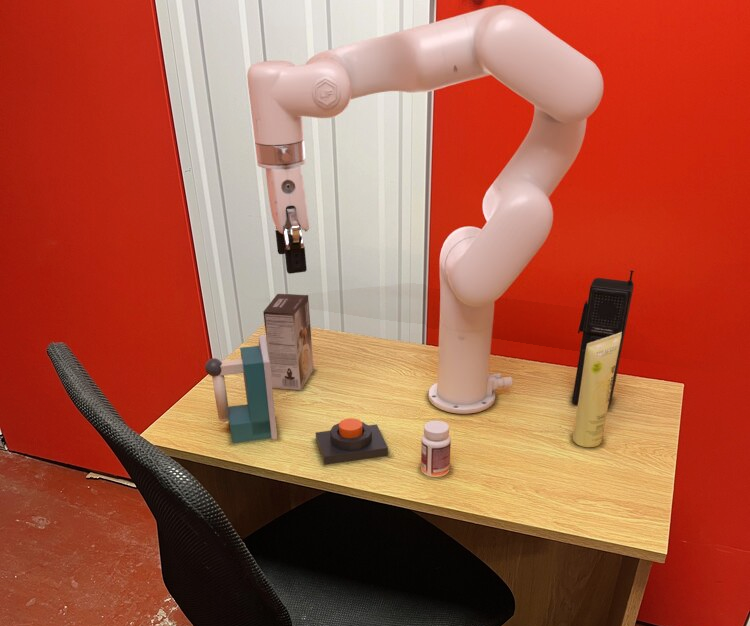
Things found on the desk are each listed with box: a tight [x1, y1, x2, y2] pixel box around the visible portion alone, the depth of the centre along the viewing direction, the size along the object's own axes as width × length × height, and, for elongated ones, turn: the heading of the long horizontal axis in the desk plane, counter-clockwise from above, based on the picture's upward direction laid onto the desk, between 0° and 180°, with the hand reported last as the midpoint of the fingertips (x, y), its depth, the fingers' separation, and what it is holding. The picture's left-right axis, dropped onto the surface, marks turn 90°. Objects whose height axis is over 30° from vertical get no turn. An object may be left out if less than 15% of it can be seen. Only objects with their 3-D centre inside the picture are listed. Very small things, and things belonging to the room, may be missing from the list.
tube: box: [572, 332, 622, 448], centre depth 129 cm, size 6×5×20 cm
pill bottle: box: [420, 419, 452, 478], centre depth 126 cm, size 5×5×8 cm
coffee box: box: [262, 293, 314, 391], centre depth 150 cm, size 9×6×16 cm
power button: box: [338, 417, 363, 438], centre depth 132 cm, size 4×4×2 cm
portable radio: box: [571, 269, 635, 410], centre depth 139 cm, size 8×6×25 cm
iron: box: [204, 334, 278, 444], centre depth 133 cm, size 18×8×10 cm
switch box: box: [315, 421, 389, 466], centre depth 133 cm, size 11×8×4 cm
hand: (291, 262), depth 130 cm, fingers open, 9 cm apart
